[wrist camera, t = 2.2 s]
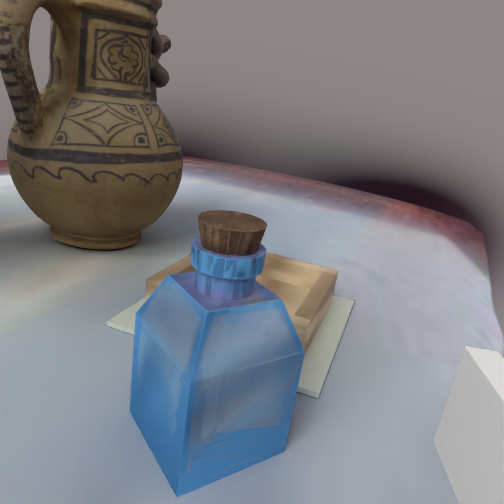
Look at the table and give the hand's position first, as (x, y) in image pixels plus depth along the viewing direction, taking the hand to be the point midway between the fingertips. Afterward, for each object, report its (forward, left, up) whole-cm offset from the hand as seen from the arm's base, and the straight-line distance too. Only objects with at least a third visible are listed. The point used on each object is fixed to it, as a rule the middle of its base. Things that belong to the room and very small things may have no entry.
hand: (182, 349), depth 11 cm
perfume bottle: (-3, +10, -12) cm, 15 cm away
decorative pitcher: (-27, +31, -12) cm, 42 cm away
